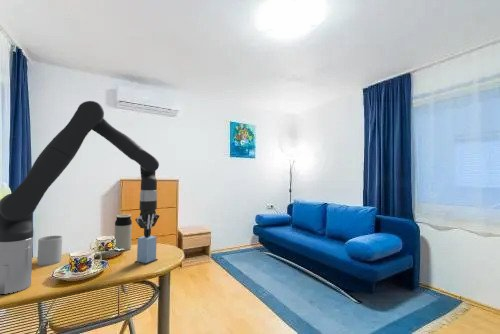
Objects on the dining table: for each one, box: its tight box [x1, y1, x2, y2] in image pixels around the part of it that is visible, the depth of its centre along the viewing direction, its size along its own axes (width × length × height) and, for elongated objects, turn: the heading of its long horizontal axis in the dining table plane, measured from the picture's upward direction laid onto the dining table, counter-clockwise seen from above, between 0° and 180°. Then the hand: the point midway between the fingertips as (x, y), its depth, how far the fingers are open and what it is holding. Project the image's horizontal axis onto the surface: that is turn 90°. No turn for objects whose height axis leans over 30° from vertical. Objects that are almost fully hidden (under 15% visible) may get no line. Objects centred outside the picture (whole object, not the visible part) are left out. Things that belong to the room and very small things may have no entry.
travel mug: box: [114, 213, 133, 251], centre depth 133 cm, size 8×8×18 cm
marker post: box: [134, 258, 159, 266], centre depth 116 cm, size 7×7×7 cm
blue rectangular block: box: [136, 235, 158, 263], centre depth 116 cm, size 6×6×11 cm
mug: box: [36, 235, 63, 267], centre depth 113 cm, size 12×8×11 cm
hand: (147, 236), depth 116 cm, fingers closed
